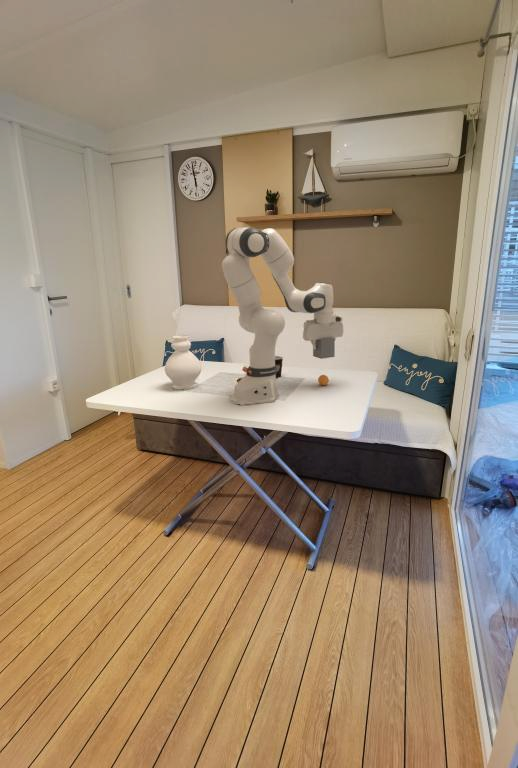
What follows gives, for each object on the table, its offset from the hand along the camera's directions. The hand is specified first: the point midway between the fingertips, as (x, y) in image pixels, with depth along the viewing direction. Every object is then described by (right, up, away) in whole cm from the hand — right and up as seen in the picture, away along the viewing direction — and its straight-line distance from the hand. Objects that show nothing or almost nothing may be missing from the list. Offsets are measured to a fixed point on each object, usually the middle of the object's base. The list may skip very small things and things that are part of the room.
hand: (323, 348), depth 192 cm
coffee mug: (-23, -13, +24) cm, 36 cm away
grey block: (0, -4, +1) cm, 4 cm away
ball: (+1, -15, +5) cm, 16 cm away
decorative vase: (-67, -18, +12) cm, 71 cm away
